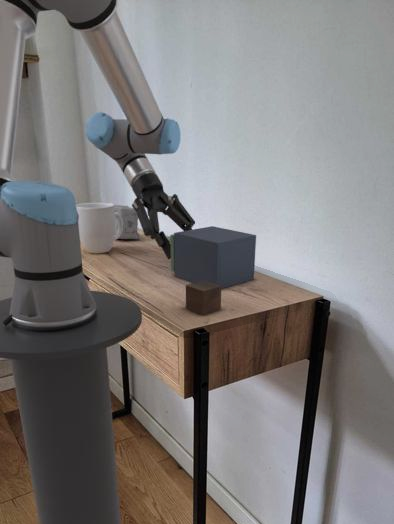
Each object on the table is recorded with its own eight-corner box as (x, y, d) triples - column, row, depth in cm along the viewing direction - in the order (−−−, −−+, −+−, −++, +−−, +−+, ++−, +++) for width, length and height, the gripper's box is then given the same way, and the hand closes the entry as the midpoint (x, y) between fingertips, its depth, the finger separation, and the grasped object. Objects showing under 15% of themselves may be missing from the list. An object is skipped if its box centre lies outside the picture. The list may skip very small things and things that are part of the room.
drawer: (157, 266, 123) (156, 231, 119) (191, 259, 130) (191, 225, 126) (208, 282, 110) (209, 244, 107) (242, 273, 117) (244, 237, 114)
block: (202, 315, 94) (202, 290, 92) (185, 308, 97) (185, 284, 95) (220, 309, 97) (221, 285, 95) (203, 303, 100) (204, 280, 98)
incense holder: (142, 239, 157) (141, 206, 152) (120, 242, 152) (117, 208, 148) (128, 234, 164) (126, 202, 159) (105, 237, 159) (103, 204, 155)
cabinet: (174, 276, 118) (173, 232, 114) (211, 267, 126) (212, 226, 121) (216, 290, 108) (217, 243, 104) (253, 279, 116) (256, 235, 112)
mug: (111, 243, 151) (108, 199, 146) (135, 248, 145) (132, 203, 139) (71, 251, 141) (66, 205, 136) (95, 257, 135) (91, 209, 129)
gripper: (168, 188, 136) (207, 255, 132) (105, 194, 123) (145, 268, 119) (180, 169, 130) (221, 238, 126) (115, 173, 117) (158, 251, 113)
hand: (184, 253), depth 122 cm, fingers closed on drawer, 8 cm apart
